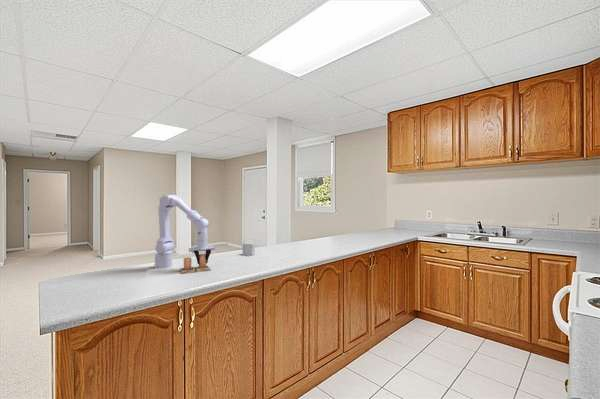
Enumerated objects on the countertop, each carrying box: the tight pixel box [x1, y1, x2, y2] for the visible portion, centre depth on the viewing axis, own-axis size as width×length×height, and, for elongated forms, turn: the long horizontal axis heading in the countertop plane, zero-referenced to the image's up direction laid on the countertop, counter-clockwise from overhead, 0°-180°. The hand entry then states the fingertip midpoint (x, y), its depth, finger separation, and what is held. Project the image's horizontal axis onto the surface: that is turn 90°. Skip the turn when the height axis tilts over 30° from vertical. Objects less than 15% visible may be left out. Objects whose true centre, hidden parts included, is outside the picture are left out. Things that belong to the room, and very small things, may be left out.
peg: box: [183, 257, 192, 271], centre depth 160 cm, size 4×4×7 cm
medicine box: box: [241, 242, 256, 257], centre depth 206 cm, size 8×4×9 cm, turn 71°
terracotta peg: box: [198, 253, 207, 268], centre depth 163 cm, size 4×4×7 cm
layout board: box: [179, 264, 212, 275], centre depth 162 cm, size 16×12×2 cm
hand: (202, 263), depth 163 cm, fingers closed on terracotta peg, 4 cm apart
